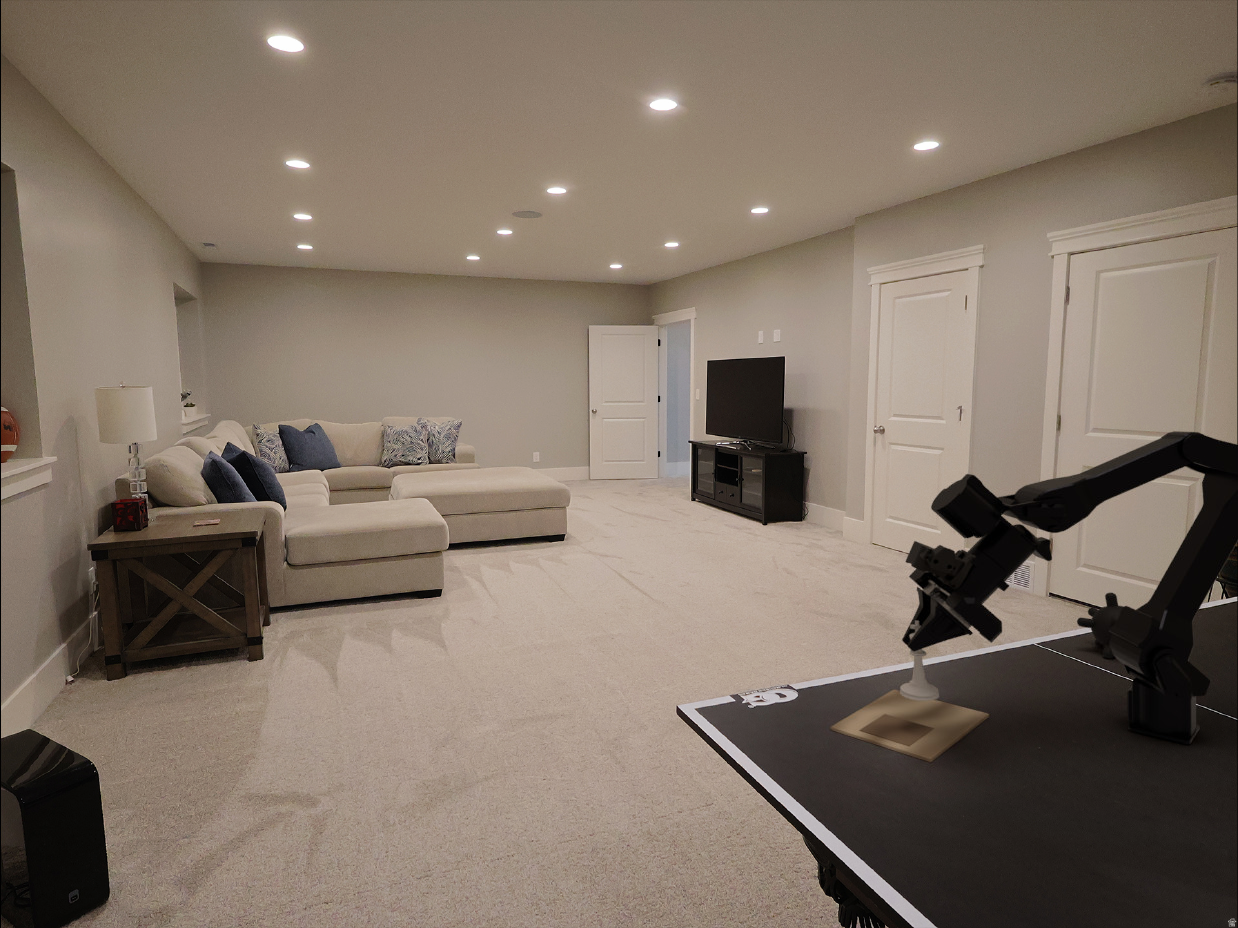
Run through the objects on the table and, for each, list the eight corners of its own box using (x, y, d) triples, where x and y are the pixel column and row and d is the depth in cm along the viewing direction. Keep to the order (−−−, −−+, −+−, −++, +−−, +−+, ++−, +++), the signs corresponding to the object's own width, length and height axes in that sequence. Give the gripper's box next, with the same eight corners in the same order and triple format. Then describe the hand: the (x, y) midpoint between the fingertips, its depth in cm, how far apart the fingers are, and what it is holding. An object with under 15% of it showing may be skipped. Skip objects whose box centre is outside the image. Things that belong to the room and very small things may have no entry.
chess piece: (934, 703, 93) (932, 627, 93) (895, 696, 96) (892, 623, 96) (943, 691, 97) (940, 618, 97) (905, 684, 100) (902, 614, 100)
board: (988, 716, 101) (988, 713, 101) (930, 762, 89) (930, 758, 89) (894, 691, 111) (894, 688, 111) (830, 729, 99) (830, 726, 99)
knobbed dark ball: (1106, 651, 116) (1052, 613, 127) (1136, 686, 119) (1081, 646, 130) (1157, 606, 114) (1098, 572, 126) (1187, 642, 118) (1127, 606, 129)
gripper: (921, 511, 104) (846, 589, 106) (972, 532, 86) (880, 626, 87) (979, 562, 104) (904, 639, 106) (1043, 594, 85) (949, 687, 87)
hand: (907, 645), depth 97 cm, fingers closed on chess piece
